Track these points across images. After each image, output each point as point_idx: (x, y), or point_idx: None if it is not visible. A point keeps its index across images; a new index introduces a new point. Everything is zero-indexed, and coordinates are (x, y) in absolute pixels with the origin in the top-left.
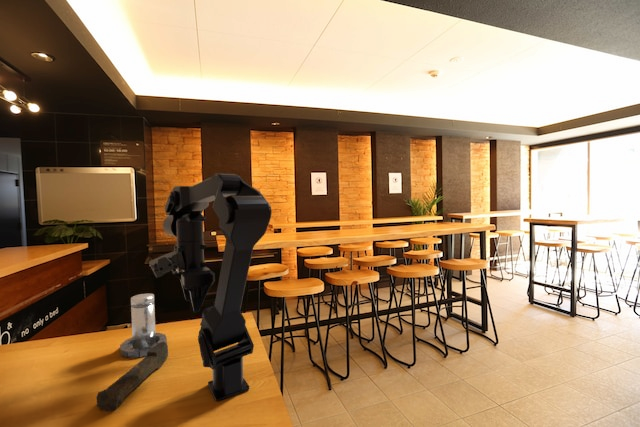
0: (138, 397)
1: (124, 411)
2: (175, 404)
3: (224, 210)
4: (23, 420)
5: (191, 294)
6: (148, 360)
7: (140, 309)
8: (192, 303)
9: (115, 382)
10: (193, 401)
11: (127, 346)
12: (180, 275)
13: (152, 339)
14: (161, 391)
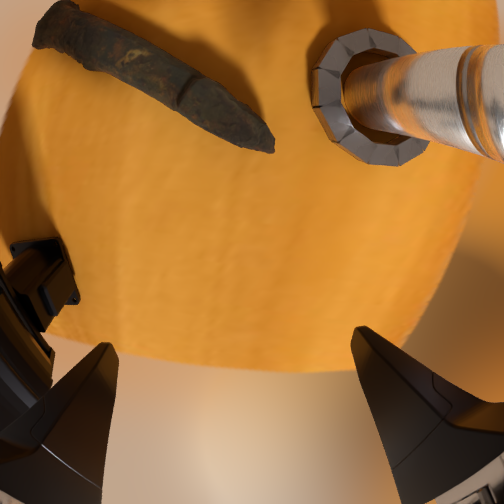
0: (75, 80)
1: (45, 64)
2: (23, 166)
3: None
4: None
5: (12, 423)
6: (151, 86)
7: (450, 69)
8: (63, 378)
9: (73, 21)
10: (22, 202)
11: (377, 48)
12: (470, 454)
13: (367, 116)
14: (73, 131)
